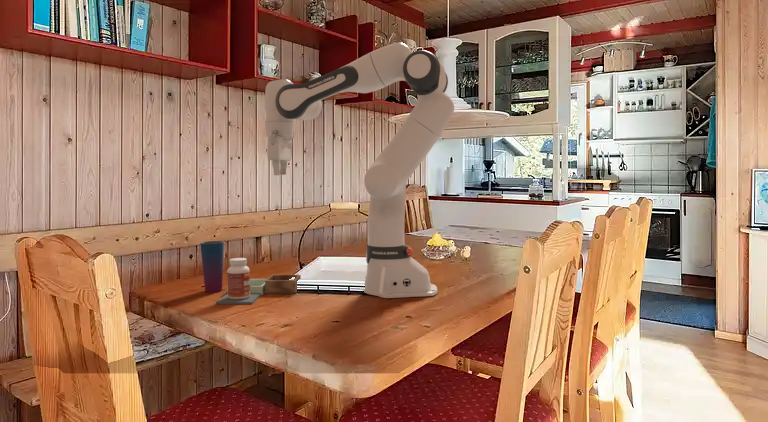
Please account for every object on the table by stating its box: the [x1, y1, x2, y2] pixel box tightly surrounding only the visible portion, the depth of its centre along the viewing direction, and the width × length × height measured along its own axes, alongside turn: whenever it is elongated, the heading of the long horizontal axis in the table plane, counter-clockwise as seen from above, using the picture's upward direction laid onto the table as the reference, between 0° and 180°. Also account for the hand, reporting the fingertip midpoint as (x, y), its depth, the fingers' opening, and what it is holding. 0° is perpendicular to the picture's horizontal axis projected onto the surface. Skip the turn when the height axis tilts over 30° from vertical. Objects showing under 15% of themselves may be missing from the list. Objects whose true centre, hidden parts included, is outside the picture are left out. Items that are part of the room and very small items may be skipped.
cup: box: [199, 240, 225, 294], centre depth 163 cm, size 7×7×15 cm
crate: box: [264, 274, 302, 295], centre depth 163 cm, size 9×9×4 cm
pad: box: [215, 292, 262, 305], centre depth 153 cm, size 10×10×1 cm
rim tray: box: [226, 278, 268, 296], centre depth 163 cm, size 10×10×2 cm
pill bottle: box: [226, 257, 251, 300], centre depth 152 cm, size 6×6×11 cm
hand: (280, 175), depth 171 cm, fingers open, 8 cm apart
